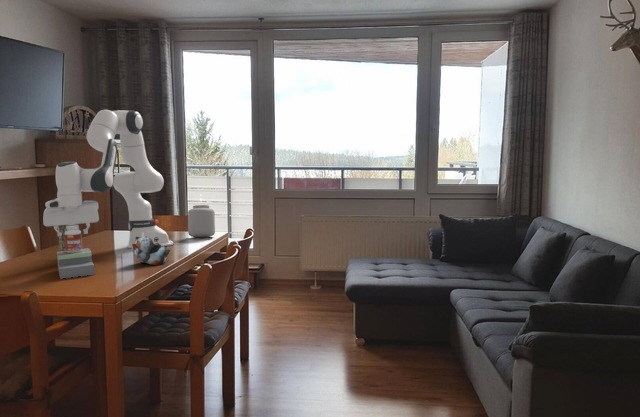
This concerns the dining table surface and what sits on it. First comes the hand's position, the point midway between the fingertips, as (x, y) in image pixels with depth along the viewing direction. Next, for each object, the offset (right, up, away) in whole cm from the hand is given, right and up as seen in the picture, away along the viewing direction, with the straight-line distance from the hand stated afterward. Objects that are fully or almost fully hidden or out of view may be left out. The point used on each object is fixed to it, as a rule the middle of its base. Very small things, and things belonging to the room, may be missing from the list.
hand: (73, 235), depth 195 cm
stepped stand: (+2, -15, -2) cm, 15 cm away
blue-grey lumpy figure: (+28, -13, +13) cm, 34 cm away
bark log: (-10, -14, +17) cm, 24 cm away
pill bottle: (0, -7, +1) cm, 7 cm away
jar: (+34, -6, +77) cm, 84 cm away
